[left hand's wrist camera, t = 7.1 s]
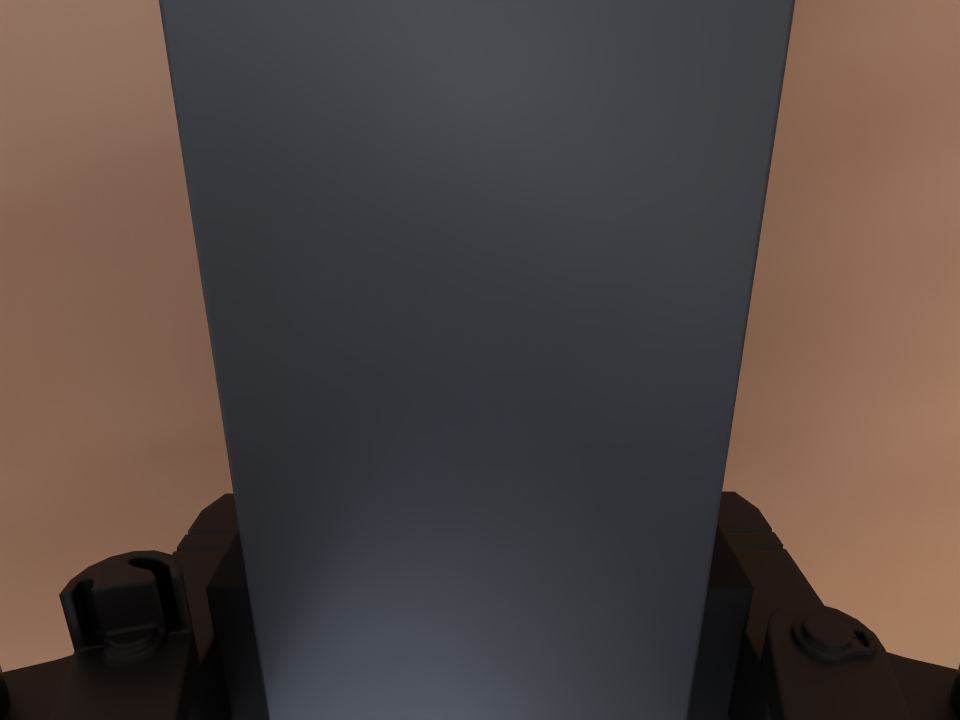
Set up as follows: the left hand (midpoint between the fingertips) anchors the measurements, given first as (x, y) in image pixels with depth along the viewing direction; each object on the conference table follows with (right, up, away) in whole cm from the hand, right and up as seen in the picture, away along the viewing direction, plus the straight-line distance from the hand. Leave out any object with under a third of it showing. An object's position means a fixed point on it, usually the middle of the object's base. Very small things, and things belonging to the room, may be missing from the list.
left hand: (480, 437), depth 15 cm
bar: (0, +21, -7) cm, 22 cm away
